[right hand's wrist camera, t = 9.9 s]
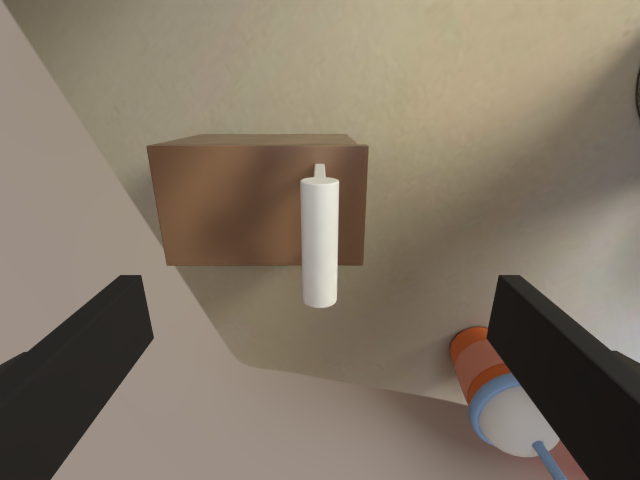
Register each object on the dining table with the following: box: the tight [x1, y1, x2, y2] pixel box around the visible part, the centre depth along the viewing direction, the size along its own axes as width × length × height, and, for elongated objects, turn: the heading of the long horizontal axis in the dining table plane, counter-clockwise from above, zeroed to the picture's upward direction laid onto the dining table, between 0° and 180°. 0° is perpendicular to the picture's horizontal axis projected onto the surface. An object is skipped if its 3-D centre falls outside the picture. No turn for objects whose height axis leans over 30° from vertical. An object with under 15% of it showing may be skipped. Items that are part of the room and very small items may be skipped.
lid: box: [147, 145, 369, 308], centre depth 22 cm, size 15×9×9 cm, turn 90°
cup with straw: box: [450, 327, 567, 480], centre depth 35 cm, size 9×9×18 cm
